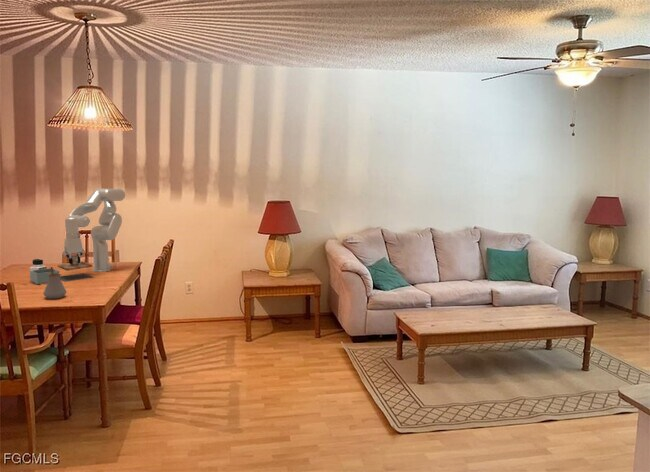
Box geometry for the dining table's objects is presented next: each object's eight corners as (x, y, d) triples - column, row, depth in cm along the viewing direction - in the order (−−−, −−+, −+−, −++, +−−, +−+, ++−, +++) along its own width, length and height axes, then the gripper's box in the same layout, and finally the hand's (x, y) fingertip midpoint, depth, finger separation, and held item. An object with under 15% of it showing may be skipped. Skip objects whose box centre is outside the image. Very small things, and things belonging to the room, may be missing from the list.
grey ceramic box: (52, 278, 345) (51, 268, 344) (59, 281, 336) (59, 271, 335) (30, 281, 336) (29, 270, 335) (37, 284, 327) (36, 273, 326)
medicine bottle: (39, 278, 346) (38, 260, 344) (30, 277, 347) (28, 259, 345) (47, 276, 353) (46, 258, 351) (37, 275, 354) (36, 258, 352)
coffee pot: (67, 298, 295) (66, 271, 293) (44, 300, 289) (43, 273, 287) (63, 290, 313) (62, 265, 311) (41, 292, 307) (40, 267, 305)
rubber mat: (83, 273, 362) (83, 273, 362) (95, 277, 349) (95, 277, 349) (53, 277, 349) (53, 277, 348) (64, 282, 335) (64, 281, 335)
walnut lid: (82, 263, 360) (81, 252, 359) (92, 266, 349) (91, 256, 348) (57, 266, 349) (56, 256, 347) (67, 270, 338) (66, 259, 336)
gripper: (83, 234, 354) (85, 260, 357) (56, 237, 342) (59, 264, 345) (88, 235, 349) (90, 262, 352) (61, 238, 337) (63, 266, 340)
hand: (74, 263), depth 348 cm, fingers closed on walnut lid, 4 cm apart
